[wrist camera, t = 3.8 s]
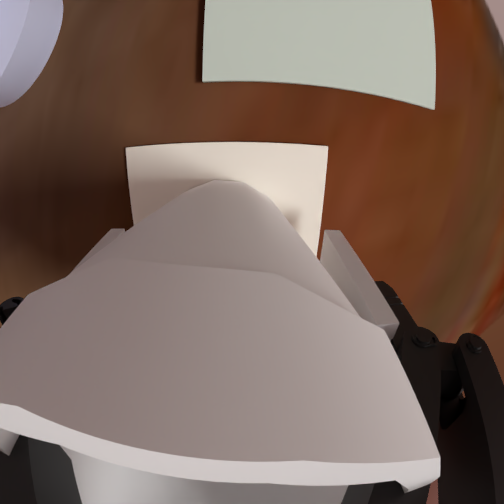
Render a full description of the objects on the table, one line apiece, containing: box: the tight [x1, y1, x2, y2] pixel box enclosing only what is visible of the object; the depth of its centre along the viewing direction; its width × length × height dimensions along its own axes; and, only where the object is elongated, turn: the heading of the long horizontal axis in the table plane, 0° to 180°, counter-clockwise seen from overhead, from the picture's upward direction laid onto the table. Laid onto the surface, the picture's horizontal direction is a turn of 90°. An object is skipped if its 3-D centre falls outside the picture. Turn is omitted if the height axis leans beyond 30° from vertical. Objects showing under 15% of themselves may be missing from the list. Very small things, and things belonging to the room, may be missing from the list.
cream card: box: [126, 142, 328, 256], centre depth 15 cm, size 10×10×1 cm
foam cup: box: [0, 180, 440, 504], centre depth 9 cm, size 10×9×13 cm
